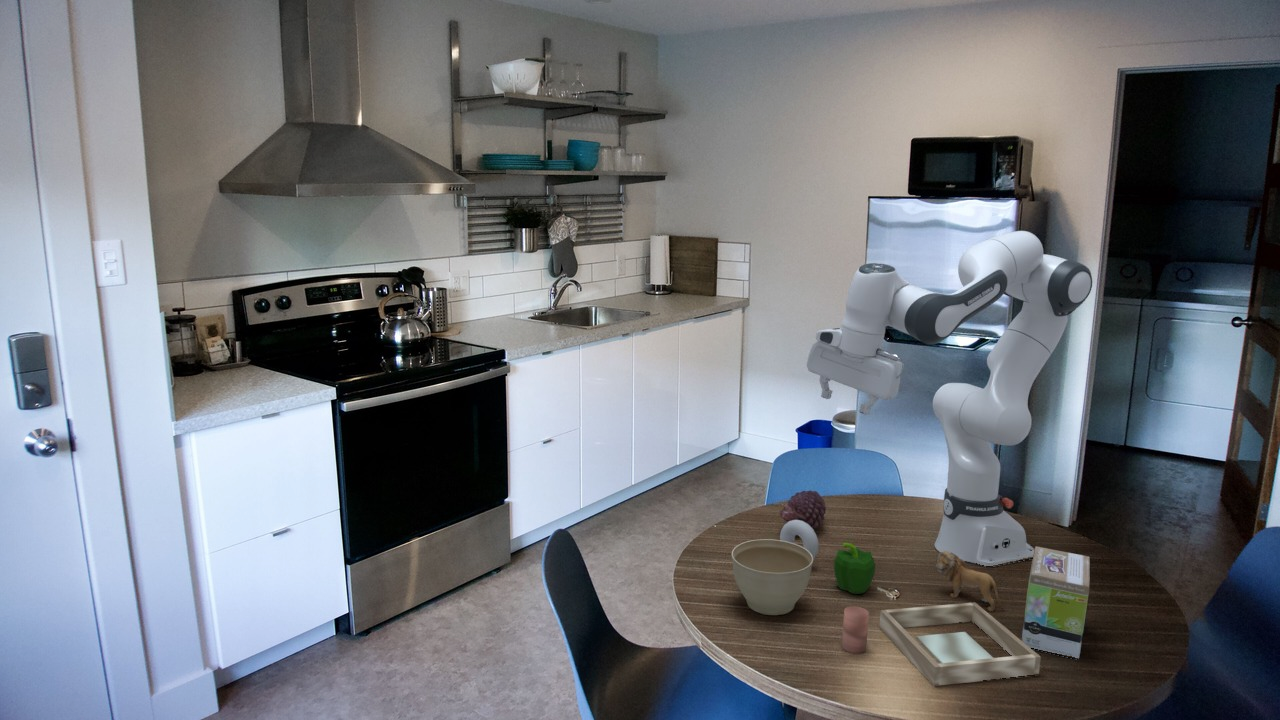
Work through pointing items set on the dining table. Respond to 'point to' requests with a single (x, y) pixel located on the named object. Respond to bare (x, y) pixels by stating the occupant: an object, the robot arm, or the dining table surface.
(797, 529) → the donut
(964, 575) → the lion figurine
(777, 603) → the planter bowl
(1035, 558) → the tea box
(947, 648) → the corral
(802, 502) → the pine cone
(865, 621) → the reddish pink cylinder
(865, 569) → the bell pepper
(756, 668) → the dining table surface
